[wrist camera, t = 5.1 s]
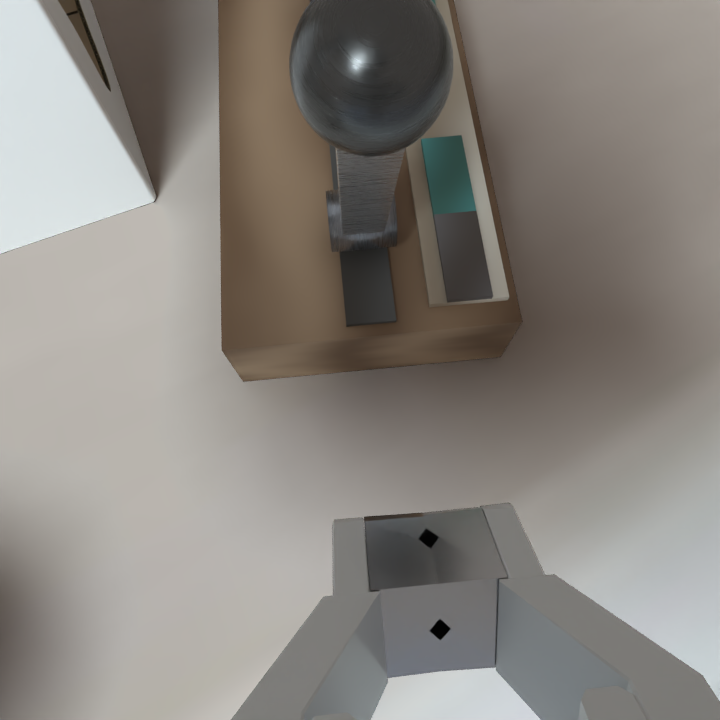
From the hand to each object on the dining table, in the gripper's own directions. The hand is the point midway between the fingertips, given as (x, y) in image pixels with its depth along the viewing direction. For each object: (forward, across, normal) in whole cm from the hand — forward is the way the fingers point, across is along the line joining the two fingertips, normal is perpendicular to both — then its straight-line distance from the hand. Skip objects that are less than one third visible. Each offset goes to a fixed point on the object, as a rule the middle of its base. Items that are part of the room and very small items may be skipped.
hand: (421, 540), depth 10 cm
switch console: (+25, 0, -4) cm, 25 cm away
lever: (+17, 0, -2) cm, 17 cm away
